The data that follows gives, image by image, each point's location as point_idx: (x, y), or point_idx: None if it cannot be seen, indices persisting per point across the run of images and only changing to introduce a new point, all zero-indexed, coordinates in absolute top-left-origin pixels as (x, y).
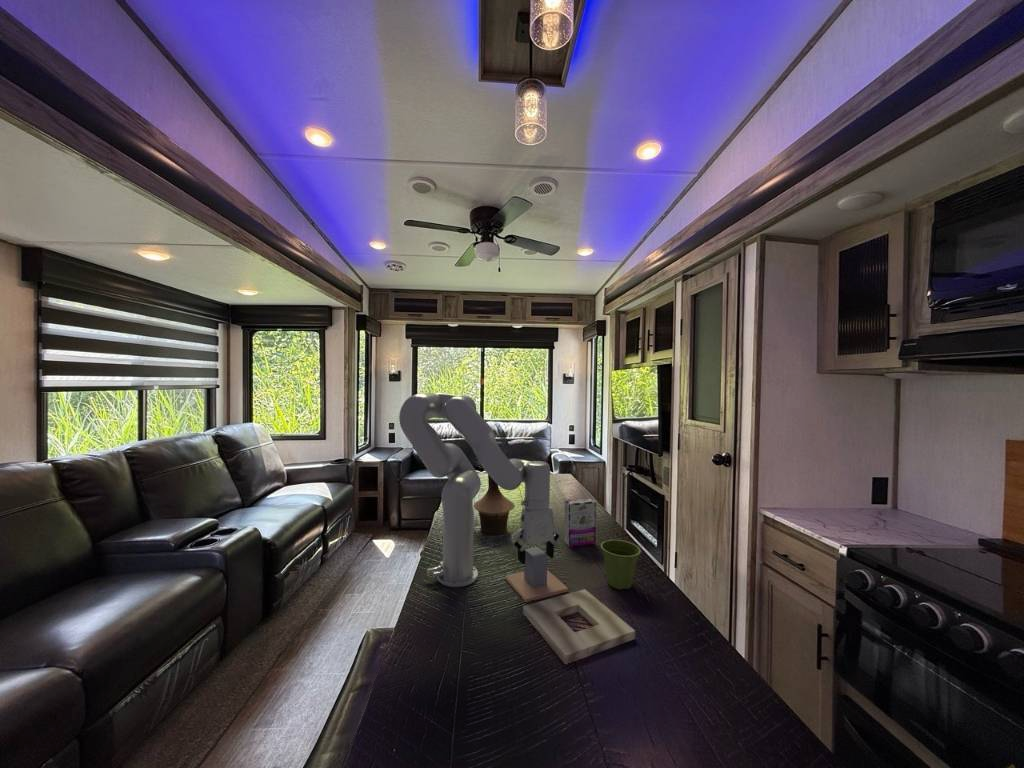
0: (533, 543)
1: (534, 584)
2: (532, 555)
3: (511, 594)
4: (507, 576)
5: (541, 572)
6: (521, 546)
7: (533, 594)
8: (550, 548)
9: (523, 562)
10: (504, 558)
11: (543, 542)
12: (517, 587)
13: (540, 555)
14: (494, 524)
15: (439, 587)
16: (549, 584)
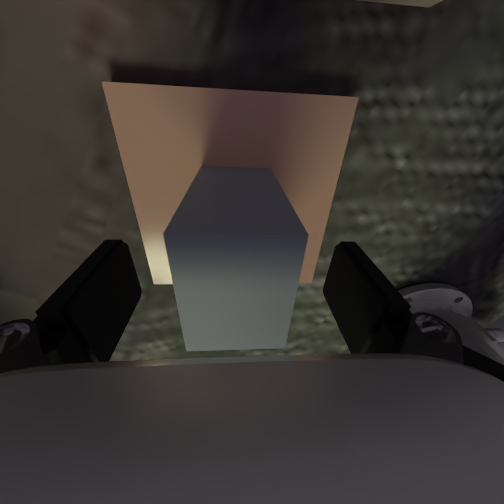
0: (390, 366)
1: (269, 172)
2: (295, 271)
3: (353, 187)
4: (307, 276)
5: (230, 186)
6: (459, 359)
7: (303, 119)
8: (94, 298)
9: (359, 247)
10: (245, 353)
11: (177, 359)
12: (325, 202)
13: (232, 248)
14: None
15: (476, 299)
16: (187, 163)
